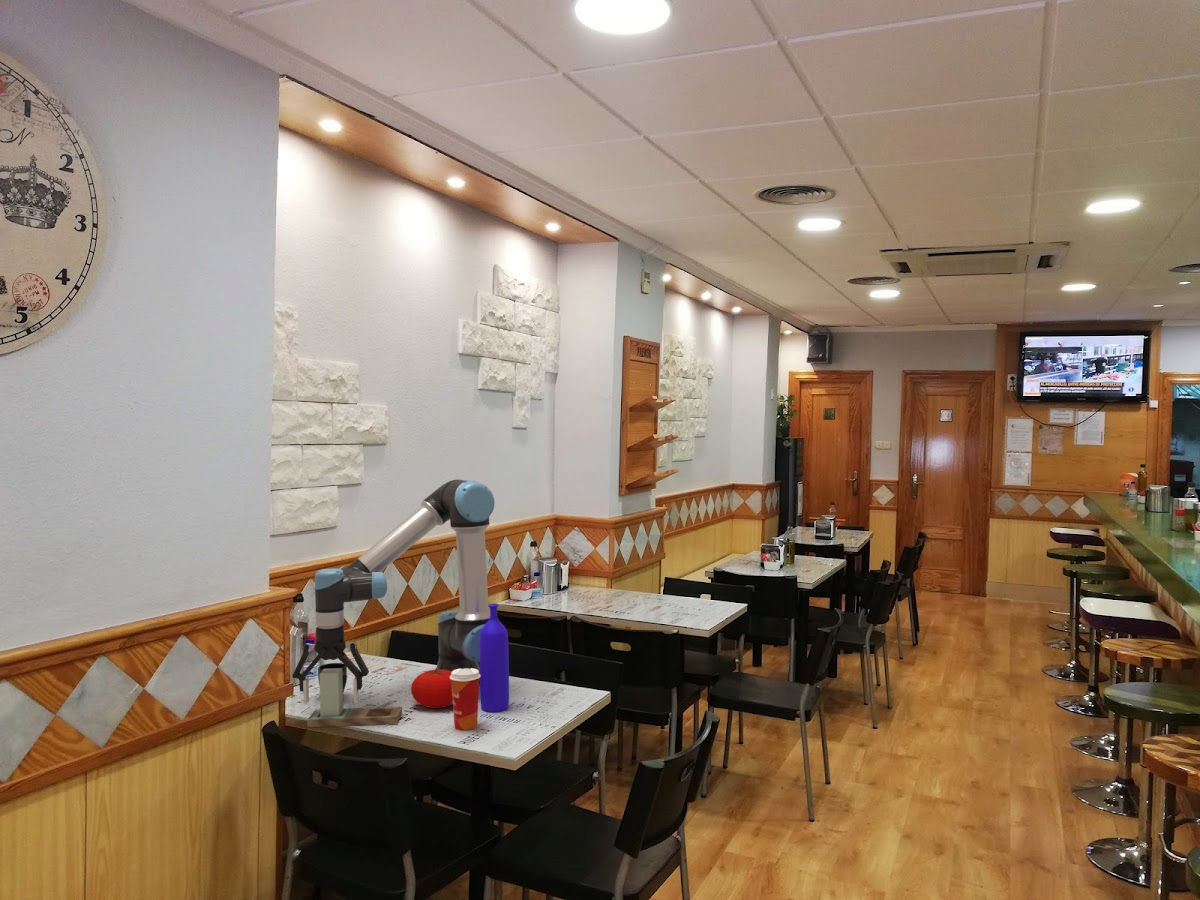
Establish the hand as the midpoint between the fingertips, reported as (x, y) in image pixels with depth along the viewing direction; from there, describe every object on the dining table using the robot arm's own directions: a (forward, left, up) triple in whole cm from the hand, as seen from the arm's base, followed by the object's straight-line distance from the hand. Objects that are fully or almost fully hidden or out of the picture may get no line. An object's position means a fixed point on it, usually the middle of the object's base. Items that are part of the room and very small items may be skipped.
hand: (331, 702), depth 245 cm
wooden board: (-6, 0, -5) cm, 8 cm away
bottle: (-44, -7, -6) cm, 45 cm away
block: (0, 0, -5) cm, 5 cm away
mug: (+4, -20, -6) cm, 21 cm away
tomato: (-27, -11, -6) cm, 30 cm away
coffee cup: (-37, +8, -6) cm, 39 cm away
